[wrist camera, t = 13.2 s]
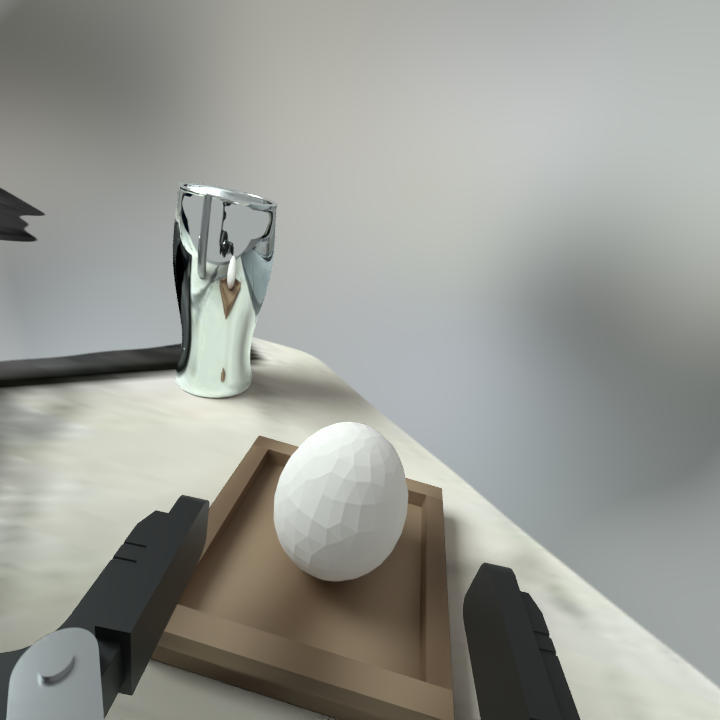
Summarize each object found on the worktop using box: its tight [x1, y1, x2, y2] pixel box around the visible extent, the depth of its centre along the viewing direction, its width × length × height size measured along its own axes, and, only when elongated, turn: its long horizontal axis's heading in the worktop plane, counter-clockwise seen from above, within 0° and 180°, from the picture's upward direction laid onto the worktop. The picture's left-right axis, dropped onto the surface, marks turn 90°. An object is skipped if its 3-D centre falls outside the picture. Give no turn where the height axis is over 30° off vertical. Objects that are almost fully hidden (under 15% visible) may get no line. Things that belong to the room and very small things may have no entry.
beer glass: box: [173, 182, 277, 398], centre depth 31 cm, size 7×7×15 cm
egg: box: [274, 422, 408, 582], centre depth 18 cm, size 6×6×8 cm
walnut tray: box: [150, 436, 454, 720], centre depth 20 cm, size 12×12×2 cm
